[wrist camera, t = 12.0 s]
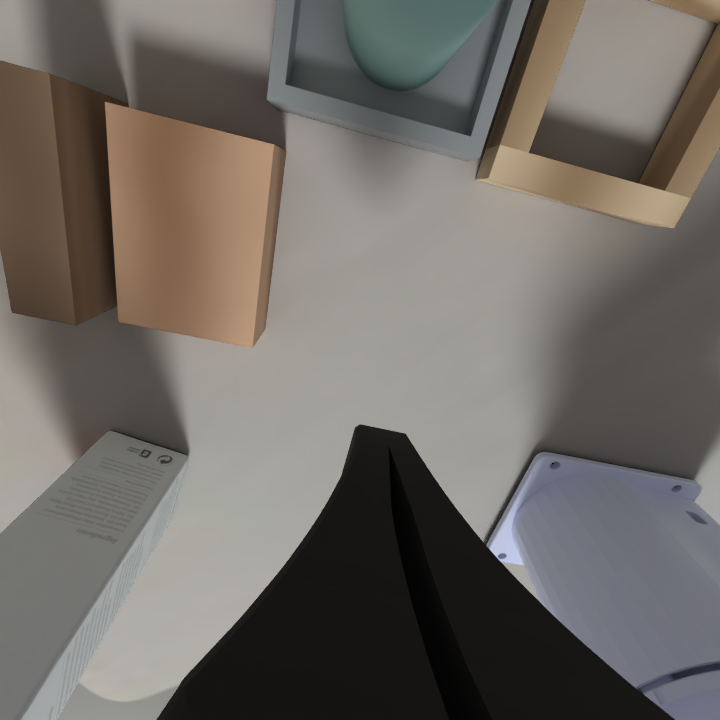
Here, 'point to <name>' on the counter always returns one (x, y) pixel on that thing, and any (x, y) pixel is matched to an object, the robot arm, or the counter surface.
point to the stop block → (55, 197)
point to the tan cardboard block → (192, 225)
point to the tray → (383, 106)
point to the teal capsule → (409, 37)
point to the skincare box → (77, 567)
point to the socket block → (586, 187)
